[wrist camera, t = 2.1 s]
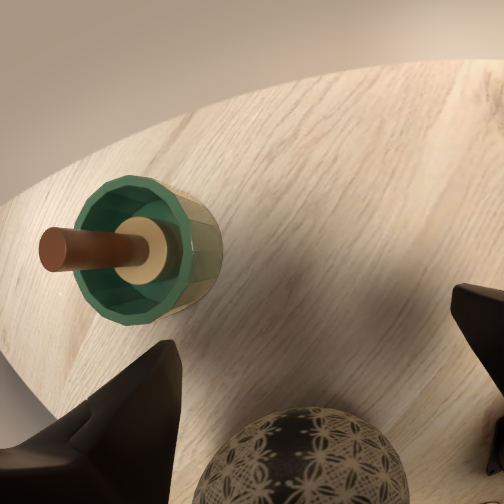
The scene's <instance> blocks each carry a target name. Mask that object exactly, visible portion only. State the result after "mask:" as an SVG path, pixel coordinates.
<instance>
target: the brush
mask: <svg viewBox="0 0 504 504" xmlns="http://www.w3.org/2000/svg"><path fill="white" fill-rule="evenodd" d="M182 256H183V246H182V240H181V233H180V228H179V227H178V226H177V225H175V224H173V223H171V222H167V221H162V220H157V219H152V218H147V217H142V216H136V217H132V218H129V219H127V220H126V221H124V222H123V223H122V224H121V225H120V226H119V227H118V228H117V230H116V231H115V233H111V232H100V231H90V230H79V229H68V228H58V227H51V228H49V229H47V230H46V231H45V232H44V233H43V235H42V237H41V239H40V243H39V257H40V260H41V263H42V265H43V266H44V268H45V269H47V270H48V271H50V272H63V271H77V270H91V269H105V268H114V269H115V270H116V272H117V273H118V275H119V276H120V277H121V278H122V279H124V280H125V281H127V282H128V283H131V284H135V285H144V284H149V283H155V282H160V281H166V280H170V279H173V278H175V277H177V276H178V275H179V272H180V266H181V261H182Z"/></svg>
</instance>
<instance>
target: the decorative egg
mask: <svg viewBox="0 0 504 504" xmlns="http://www.w3.org/2000/svg"><path fill="white" fill-rule="evenodd" d="M192 504H410V500H409V488H408V483H407V478H406V474H405V471H404V468H403V466H402V463H401V461H400V458H399V456H398V454H397V453H396V451H395V449H394V448H393V447H392V445H391V444H390V443H389V441H388V440H387V439H386V438H385V437H384V436H383V435H382V434H381V433H380V432H379V431H378V430H377V429H376V428H375V427H373V426H372V425H370V424H369V423H367V422H366V421H364V420H362V419H361V418H359V417H357V416H354V415H352V414H350V413H347V412H343V411H340V410H337V409H332V408H326V407H312V406H308V407H297V408H290V409H286V410H281V411H277V412H274V413H272V414H269V415H267V416H264V417H262V418H259V419H258V420H256V421H254V422H252V423H250V424H249V425H247V426H246V427H244V428H242V429H241V430H240V431H238V432H237V433H236V434H235V435H233V436H232V437H231V438H230V439H229V440H228V441H227V442H226V443H225V444H224V445H223V446H222V447H221V448H220V449H219V451H218V452H217V453H216V454H215V455H214V457H213V458H212V460H211V461H210V462H209V464H208V465H207V467H206V469H205V471H204V472H203V474H202V476H201V478H200V480H199V483H198V485H197V488H196V490H195V493H194V497H193V501H192Z"/></svg>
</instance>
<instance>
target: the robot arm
mask: <svg viewBox="0 0 504 504" xmlns="http://www.w3.org/2000/svg"><path fill="white" fill-rule="evenodd" d="M450 310H451V314H452V316H453V318H454V320H455V321H456V323H457V325H458V326H459V328H460V330H461V331H462V333H463V335H464V337H465V338H466V340H467V342H468V344H469V345H470V347H471V348H472V350H473V351H474V353H475V354H476V356H477V357H478V359H479V360H480V362H481V363H482V364H483V366H484V367H485V369H486V370H487V372H488V373H489V375H490V376H491V378H492V380H493V381H494V383H495V384H496V386H497V387H498V389H499V390H500V392H501V394H502V395H503V397H504V291H502V290H497V289H492V288H487V287H482V286H477V285H471V284H466V283H462V284H459V285H456V286H454V288H453V291H452V299H451V307H450ZM181 398H182V362H181V359H180V356H179V353H178V350H177V347H176V344H175V342H174V341H173V340H161V341H159V342H158V343H157V344H155V345H154V346H153V347H152V348H150V349H149V350H148V351H147V352H145V353H144V354H143V355H142V356H140V357H139V358H138V359H136V360H135V361H134V362H133V363H131V364H130V365H129V366H128V367H126V368H125V369H124V370H123V371H121V372H120V373H119V374H118V375H116V376H115V377H114V378H112V379H111V380H110V381H109V382H107V383H106V384H105V385H104V386H102V387H101V388H100V389H99V390H97V391H96V392H95V393H93V394H92V395H91V396H90V397H88V398H87V400H84V401H83V402H82V403H81V404H79V405H78V406H77V407H75V408H74V409H73V410H71V411H70V412H69V413H67V414H66V415H65V416H63V417H62V418H60V419H59V420H57V421H56V422H54V423H53V424H51V425H50V426H48V427H47V428H45V429H43V430H42V431H40V432H39V433H37V434H36V435H34V436H33V437H31V438H30V439H28V440H26V441H25V442H23V443H21V444H19V445H17V446H15V447H12V448H7V449H0V504H168V501H169V493H170V485H171V478H172V470H173V463H174V456H175V448H176V442H177V435H178V428H179V422H180V415H181ZM500 471H503V472H504V417H502V418H500V419H499V420H498V421H497V423H496V428H495V434H494V439H493V444H492V449H491V453H490V458H489V462H488V466H487V470H486V473H487V475H488V476H491V475H493V474H496V473H498V472H500Z"/></svg>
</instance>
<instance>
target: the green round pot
mask: <svg viewBox="0 0 504 504" xmlns="http://www.w3.org/2000/svg"><path fill="white" fill-rule="evenodd" d="M136 216H142V217H147V218H152V219H157V220H162V221H167V222H171V223H173V224H175V225H177V226H178V227H179V228H180V233H181V240H182V246H183V256H182V261H181V266H180V272H179V275H178V276H177V277H175V278H173V279H170V280H166V281H160V282H155V283H149V284H144V285H135V284H131V283H128V282H127V281H125V280H124V279H122V278H121V277H120V276H119V275H118V273H117V272H116V270H115V269H114V268H105V269H91V270H77V271H73V272H74V277H75V279H76V281H77V283H78V286H79V288H80V290H81V292H82V294H83V296H84V298H85V300H86V301H87V302H88V303H89V304H90V305H91V306H92V307H93V308H94V309H95V310H96V311H97V312H98V313H99V314H100V315H101V316H102V317H104V318H107V319H109V320H112V321H114V322H117V323H119V324H122V325H125V326H131V325H142V324H150V323H152V322H155V321H157V320H159V319H162V318H164V317H167V316H169V315H171V314H174V313H176V312H178V311H181V310H183V309H185V308H187V307H188V306H190V305H192V304H194V303H196V302H197V301H198V300H200V299H201V298H202V297H203V296H204V295H206V294H207V293H208V291H209V290H210V289H211V287H212V286H213V284H214V283H215V281H216V279H217V277H218V274H219V271H220V268H221V264H222V257H223V245H222V238H221V234H220V230H219V228H218V225H217V223H216V221H215V219H214V217H213V216H212V214H211V213H210V212H209V210H208V209H207V208H206V207H205V206H204V205H203V204H201V203H200V202H199V201H197V200H196V199H194V198H192V197H191V196H189V195H188V194H186V193H184V192H182V191H179V190H177V189H175V188H173V187H170V186H168V185H166V184H164V183H162V182H159V181H157V180H155V179H152V178H147V177H140V176H133V175H127V176H124V177H121V178H118V179H115V180H112V181H109V182H106V183H105V184H103V185H102V186H101V187H100V188H99V189H98V190H97V191H96V192H95V193H94V194H92V195H91V196H90V197H89V198H88V199H87V201H86V203H85V204H84V206H83V208H82V210H81V212H80V214H79V216H78V218H77V220H76V222H75V225H74V229H79V230H90V231H100V232H111V233H115V231H116V230H117V228H118V227H119V226H120V225H121V224H122V223H123V222H124V221H126V220H127V219H129V218H132V217H136Z"/></svg>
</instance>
